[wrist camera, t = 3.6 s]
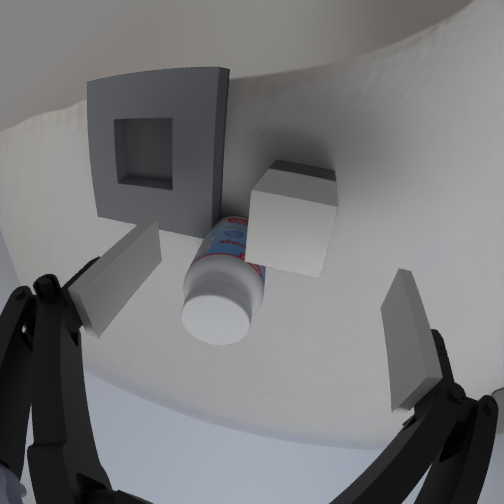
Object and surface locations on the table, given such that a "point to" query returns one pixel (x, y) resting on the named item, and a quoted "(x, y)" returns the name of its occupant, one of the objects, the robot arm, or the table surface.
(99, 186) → the socket plate
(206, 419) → the table surface
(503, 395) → the electrical switch
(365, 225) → the table surface
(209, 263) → the pill bottle
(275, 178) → the plug
